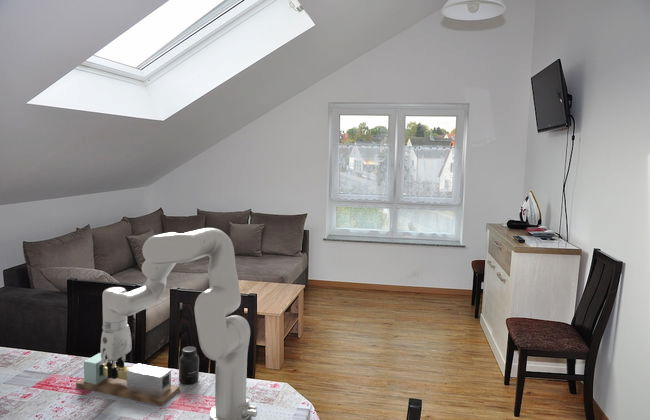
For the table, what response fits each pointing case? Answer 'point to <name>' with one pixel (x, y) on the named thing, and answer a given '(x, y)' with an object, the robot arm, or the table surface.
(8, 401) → the table surface
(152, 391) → the steel sleeve
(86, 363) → the sage socket block
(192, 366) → the supplement bottle
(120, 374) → the brass inner tube
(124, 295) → the robot arm
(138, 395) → the walnut base board
